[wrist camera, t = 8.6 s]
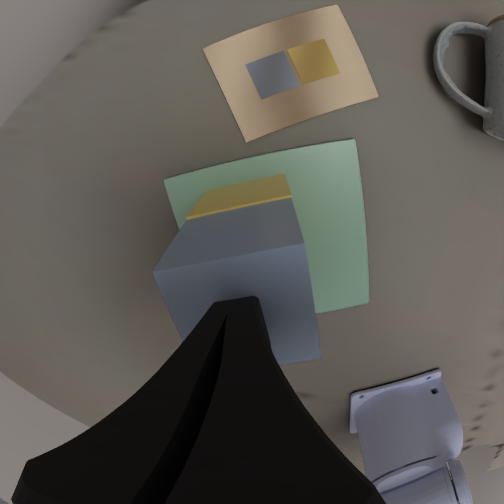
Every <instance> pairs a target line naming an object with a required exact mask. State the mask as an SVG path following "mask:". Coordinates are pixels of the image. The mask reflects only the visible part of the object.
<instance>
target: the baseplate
mask: <svg viewBox="0 0 504 504" xmlns="http://www.w3.org/2000/svg"><path fill="white" fill-rule="evenodd" d="M280 174H285V177H286V180H287V183H288V186H289V189H290V192H291V196H292V201H293V205H294V208H295V212H296V215H297V218H298V222H299V225H300V229H301V232H302V236H303V239H304V243H305V248H306V254H307V260H308V266H309V272H310V279H311V285H312V292H313V298H314V305H315V312H316V314H317V313H322V312H327V311H332V310H337V309H342V308H347V307H352V306H356V305H361V304H366V303H369V274H368V253H367V237H366V224H365V213H364V203H363V194H362V185H361V177H360V169H359V162H358V155H357V149H356V142H355V139H346V140H339V141H332V142H326V143H320V144H314V145H308V146H302V147H297V148H291V149H286V150H281V151H276V152H271V153H266V154H261V155H256V156H252V157H247V158H243V159H238V160H234V161H230V162H226V163H221V164H217V165H213V166H209V167H205V168H202V169H198V170H194V171H190V172H187V173H183V174H179V175H176V176H172V177H169V178H165V179H164V180H163V181H164V184H165V187H166V191H167V194H168V197H169V200H170V203H171V206H172V210H173V213H174V216H175V219H176V222H177V225H178V228H179V230H180V229H181V227H182V226H183V224H184V223H185V221H186V220H187V218H186V217H187V216H188V214H189V213H190V212H191V210H192V209H193V207H194V206H195V205H196V203H197V202H198V200H199V199H200V198H201V196H202V195H203V194H204V192H205V191H207V190H211V189H215V188H219V187H224V186H228V185H232V184H237V183H241V182H246V181H251V180H255V179H260V178H265V177H270V176H275V175H280Z"/></svg>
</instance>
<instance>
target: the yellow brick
mask: <svg viewBox="0 0 504 504" xmlns="http://www.w3.org/2000/svg"><path fill="white" fill-rule="evenodd" d="M290 197H291V198H292V196H291V192H290V189H289V186H288V183H287V180H286V177H285V174H280V175H275V176H270V177H265V178H260V179H255V180H251V181H246V182H241V183H237V184H232V185H228V186H224V187H219V188H215V189H211V190H207V191H205V192H204V194H203V195H202V196H201V198H200V199H199V200H198V202H197V203H196V205H195V206H194V207H193V209H192V210H191V212H190V213H189V214H188V216H187V217H186V218H187V220H188V219H192V218H196V217H201V216H205V215H209V214H214V213H218V212H223V211H227V210H232V209H236V208H241V207H246V206H250V205H255V204H260V203H265V202H270V201H275V200H280V199H285V198H290ZM292 202H293V201H292Z"/></svg>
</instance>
